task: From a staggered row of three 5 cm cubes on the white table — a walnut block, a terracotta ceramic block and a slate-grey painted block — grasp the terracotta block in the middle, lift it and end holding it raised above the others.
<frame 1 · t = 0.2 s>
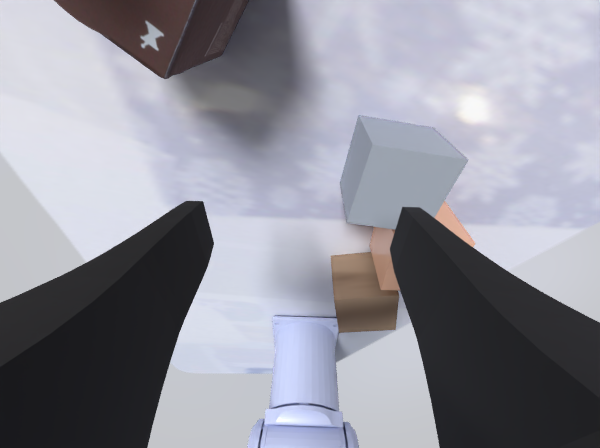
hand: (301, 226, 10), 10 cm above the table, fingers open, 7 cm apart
terracotta block: (404, 224, 22), on the table
slate block: (382, 156, 19), on the table
walnut block: (358, 270, 26), on the table
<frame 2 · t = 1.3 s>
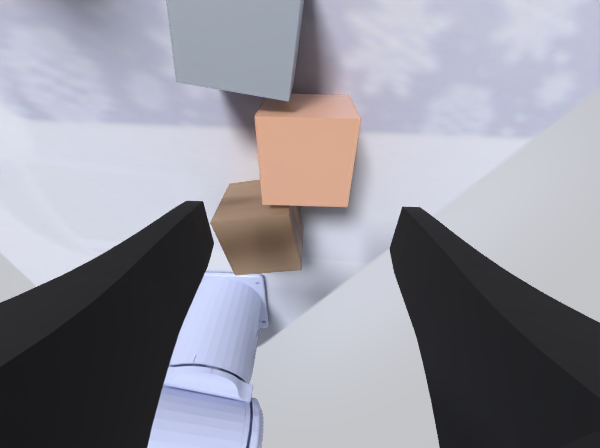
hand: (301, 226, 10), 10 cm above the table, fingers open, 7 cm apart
terracotta block: (307, 133, 18), on the table
slate block: (254, 21, 14), on the table
walnut block: (268, 206, 22), on the table
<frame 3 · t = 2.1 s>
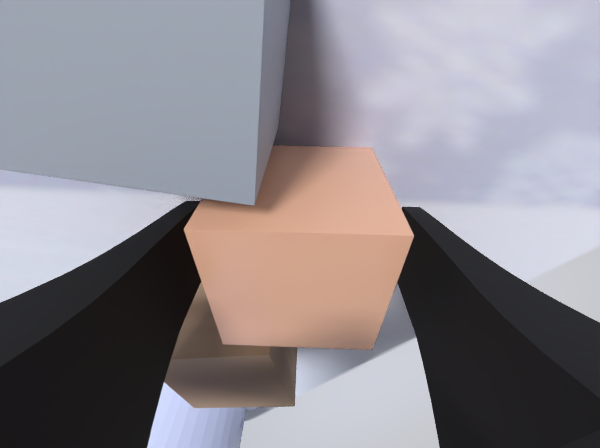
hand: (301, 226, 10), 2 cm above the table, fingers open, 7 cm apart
terracotta block: (302, 202, 11), on the table
slate block: (200, 24, 8), on the table
walnut block: (248, 289, 15), on the table
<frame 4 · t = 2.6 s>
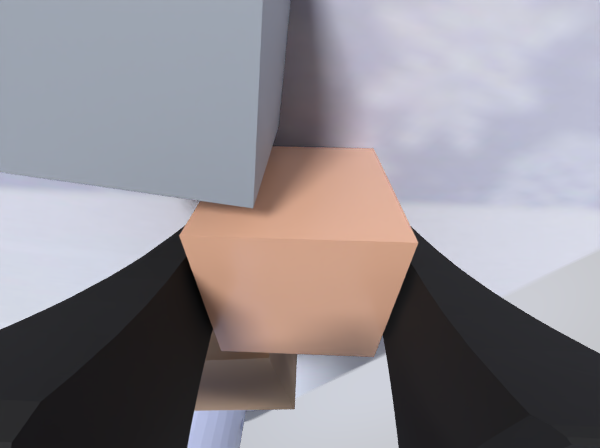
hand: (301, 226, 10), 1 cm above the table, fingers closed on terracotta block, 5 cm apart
terracotta block: (302, 204, 11), on the table, touching gripper
slate block: (199, 23, 7), on the table
walnut block: (247, 290, 15), on the table
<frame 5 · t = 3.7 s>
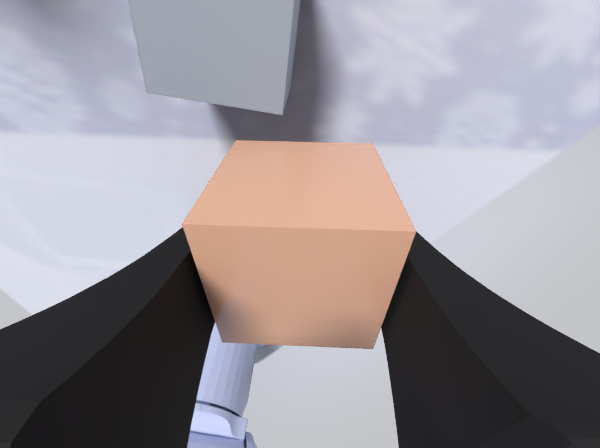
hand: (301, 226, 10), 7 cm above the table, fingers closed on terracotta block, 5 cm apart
terracotta block: (302, 199, 11), point 6 cm above the table, touching gripper
slate block: (244, 18, 12), on the table
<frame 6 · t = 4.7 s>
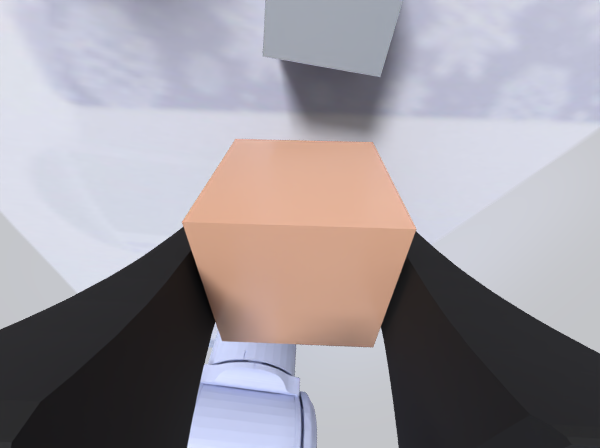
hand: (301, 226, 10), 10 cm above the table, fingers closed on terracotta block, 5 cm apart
terracotta block: (302, 198, 11), point 8 cm above the table, touching gripper
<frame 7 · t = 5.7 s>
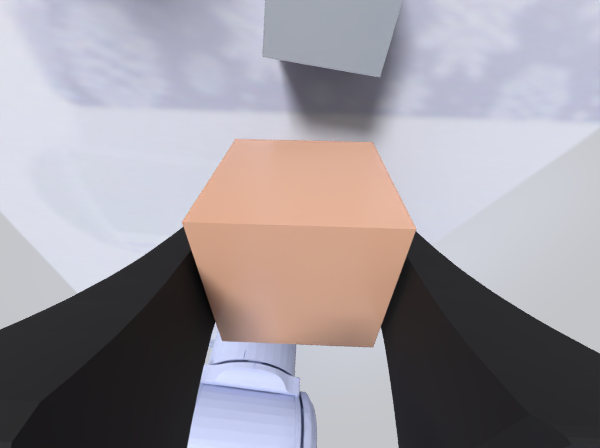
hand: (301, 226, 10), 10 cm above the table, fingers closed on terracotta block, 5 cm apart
terracotta block: (302, 198, 11), point 8 cm above the table, touching gripper
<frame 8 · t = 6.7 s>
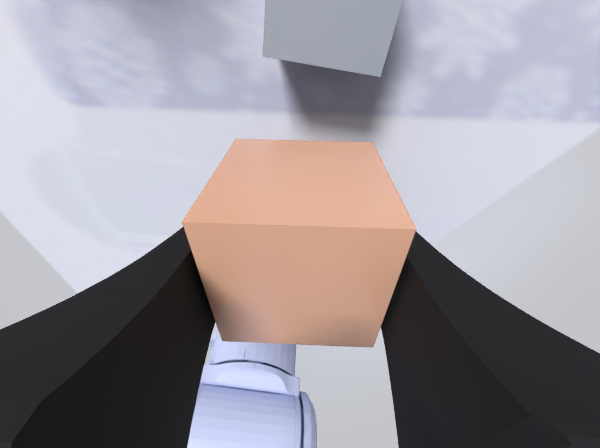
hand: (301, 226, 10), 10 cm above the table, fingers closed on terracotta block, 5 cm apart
terracotta block: (302, 198, 11), point 8 cm above the table, touching gripper
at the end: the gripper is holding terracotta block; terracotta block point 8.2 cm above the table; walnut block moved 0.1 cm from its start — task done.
